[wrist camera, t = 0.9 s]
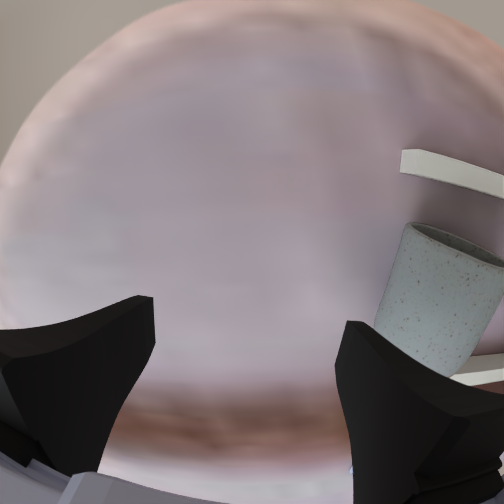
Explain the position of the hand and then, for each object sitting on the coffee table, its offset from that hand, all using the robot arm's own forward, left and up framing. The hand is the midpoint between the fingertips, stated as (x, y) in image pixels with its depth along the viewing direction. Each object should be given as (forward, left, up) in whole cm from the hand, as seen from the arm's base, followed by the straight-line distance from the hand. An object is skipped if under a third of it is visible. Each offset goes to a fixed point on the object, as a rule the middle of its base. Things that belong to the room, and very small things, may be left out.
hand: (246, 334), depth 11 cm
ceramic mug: (0, -13, -10) cm, 16 cm away
